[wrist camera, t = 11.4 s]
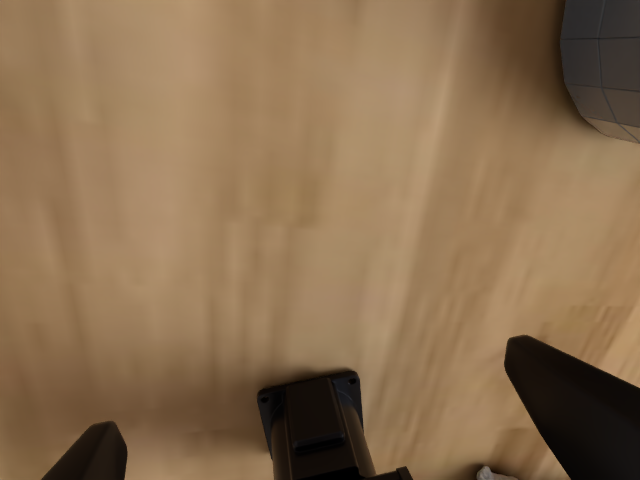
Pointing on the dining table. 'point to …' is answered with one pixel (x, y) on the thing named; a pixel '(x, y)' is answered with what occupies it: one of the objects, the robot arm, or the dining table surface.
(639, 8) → the dish
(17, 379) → the dining table surface
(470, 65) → the dining table surface
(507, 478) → the seashell
